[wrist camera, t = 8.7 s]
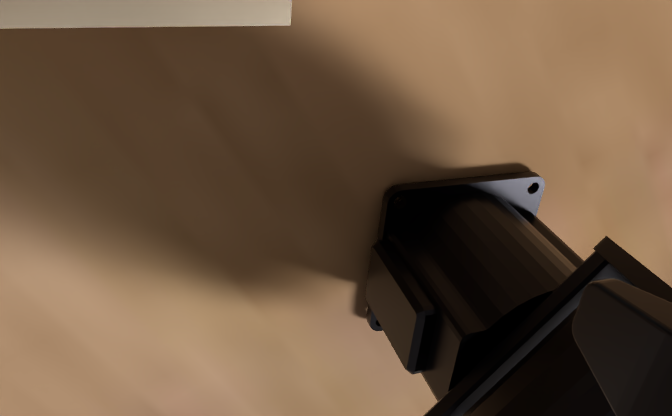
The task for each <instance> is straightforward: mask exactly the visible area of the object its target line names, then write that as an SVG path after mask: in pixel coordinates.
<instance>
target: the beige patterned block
mask: <svg viewBox="0 0 672 416" xmlns="http://www.w3.org/2000/svg"><path fill="white" fill-rule="evenodd" d="M291 8H292V0H0V29H12V28H106V27H200V26H291Z"/></svg>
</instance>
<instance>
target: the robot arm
mask: <svg viewBox="0 0 672 416" xmlns="http://www.w3.org/2000/svg"><path fill="white" fill-rule="evenodd" d="M532 183H533V184H532ZM531 184H532V186H531V187H529V186H530V185H531ZM528 187H529V188H528ZM544 187H545V182H544V179H542V178H541V177H540V176H539V175H538V174H536V173H535V172H523V173H512V174H502V175H492V176H481V177H471V178H461V179H450V180H440V181H430V182H419V183H409V184H399V185H395V186H392V187H391V188H389V189H388V190H387V191H386V192H385V194H384V197H383V202H382V210H381V217H380V224H379V231H378V238H377V241H375V243H374V244H373V246H372V249H371V256H370V264H369V271H368V278H367V286H366V293H365V298H366V301H367V302H368V309H367V316H366V317H367V322H368V323H369V325H370V327H371V328H372V330H375V331H382V330H383V331H384V332H385V334H386V336H387V338H388V339H389V341H390V343H391V345H392V347H393V348H394V350H395V352H396V354H397V355H398V357H399V359H400V361H401V362H402V364H403V366H404V368H405V369H406V370H407V371H408V372H410V373H411V374H416V373H421V374H422V375H423V377H424V379H425V381H426V382H427V384H428V386H429V387H430V389H431V391H432V392H433V394H434V396H435V397H436V399H437V401H438V402H437V403H436V404H435V405H434V406H433V407H432V408H431V409H430V410H429V411H428V412H427V413H426V414H425V415H424V416H672V288H671V287H670V286H669V285H667V284H666V283H665V282H664V281H662V280H661V279H660V278H659V277H657V276H656V275H655V274H654V273H652V272H651V271H650V270H649V269H647V268H646V267H645V266H644V265H642V264H641V263H640V262H639V261H637V260H636V259H635V258H634V257H632V256H631V255H630V254H628V253H627V252H626V251H625V250H623V249H622V248H621V247H620V246H618V245H617V244H616V243H615V242H613V241H612V240H611V239H610V238H608V237H607V236H606V237H605V238H604V239H602V240H601V241H600V242H599V243H598V244H597V245H596V246H595V247H594V248H593V249H594V250H595V252H593V253H592V254H591V255H590V256H589V257H588V258H587V259H586V260H585V261H583V260H582V259H581V258H580V257H579V256H578V255H577V254H576V253H575V252H574V251H573V250H572V249H570V248H569V247H568V246H567V245H566V244H565V243H564V242H563V241H562V240H561V239H560V238H559V237H558V236H556V235H555V234H554V233H553V232H552V231H551V230H550V229H549V228H548V227H547V226H546V225H545V224H544V223H542V222H541V221H540V220H539V219H538V218H537V217H536V215H537V211H538V208H539V204H540V201H541V197H542V194H543V190H544ZM401 196H403V197H402V199H401V200H400V201H399V202H397V203H394V201H395V200H396V199H397V198H398V197H401Z"/></svg>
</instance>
